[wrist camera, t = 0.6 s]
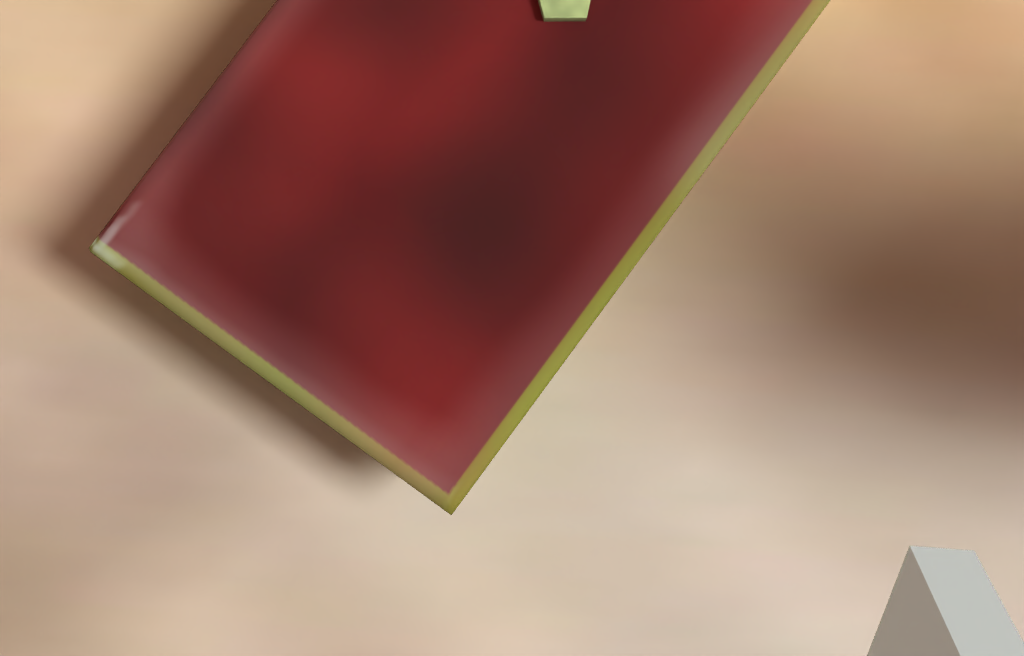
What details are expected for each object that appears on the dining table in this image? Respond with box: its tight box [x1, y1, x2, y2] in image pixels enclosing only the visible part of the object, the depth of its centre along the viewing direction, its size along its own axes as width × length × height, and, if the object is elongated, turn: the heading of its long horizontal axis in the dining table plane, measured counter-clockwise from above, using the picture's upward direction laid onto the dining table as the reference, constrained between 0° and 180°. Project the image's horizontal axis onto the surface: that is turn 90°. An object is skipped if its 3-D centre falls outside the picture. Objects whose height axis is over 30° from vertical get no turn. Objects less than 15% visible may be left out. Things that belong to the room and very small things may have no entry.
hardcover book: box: [89, 0, 830, 515], centre depth 27 cm, size 12×21×4 cm, turn 144°
